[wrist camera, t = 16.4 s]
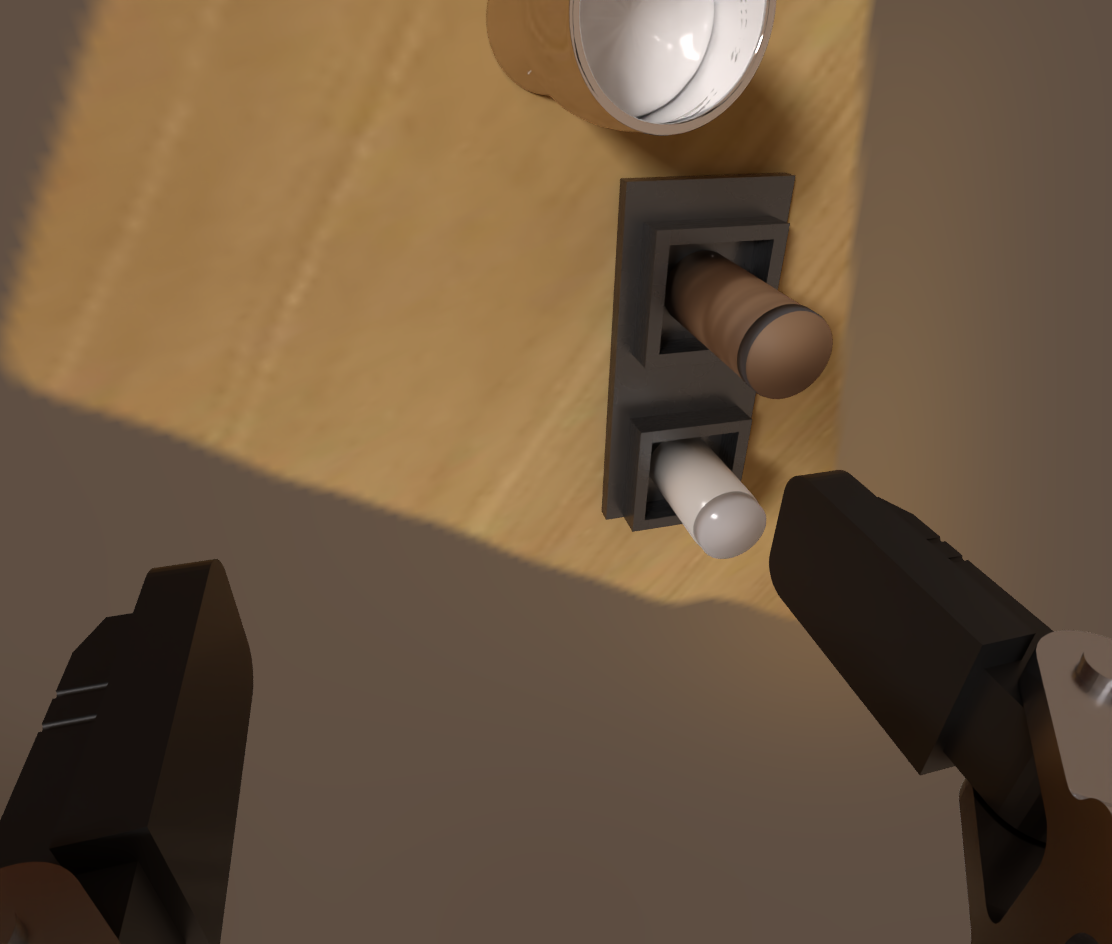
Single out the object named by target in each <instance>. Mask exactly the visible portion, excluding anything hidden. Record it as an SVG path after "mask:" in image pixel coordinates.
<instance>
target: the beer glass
mask: <svg viewBox="0 0 1112 944" xmlns="http://www.w3.org/2000/svg"><path fill="white" fill-rule="evenodd" d="M775 9H776V0H488V1H487V9H486V25H487V33H488V38H489V42H490V46H491V49H492V51H493V54H494V56H495V58H496V60H497V62H498V64H499V65H500V67H501V68H502V70H503V71H504V72H505V73H506V75H507V76H508V77H509V78H510V79H511V80H512V81H513V82H515V83H516V84H517V85H519V86H520V87H522V88H524V89H525V90H527V91H530V92H532V93H536V94H540V95H547V96H551V97H552V98H553V99H554V100H555V101H556V102H557V103H558V104H559V105H560V106H561V107H563V108H564V109H565V110H567V111H568V112H570V113H571V114H573V115H575V116H577V117H579V118H581V119H583V120H585V121H587V122H589V123H592V124H594V125H597V126H601V127H605V128H609V129H613V130H618V131H625V132H636V133H645V134H650V135H660V136H666V135H676V134H681V133H685V132H689V131H691V130H694V129H697V128H699V127H701V126H703V125H705V124H707V123H709V122H710V121H712V120H713V119H715V118H716V117H718V116H719V115H720V114H722V113H723V112H724V111H725V110H726V109H727V108H729V107H730V106H731V105H732V104H733V103H734V102H735V100H736V99H737V98H738V97H739V96H740V95H741V93H742V92H743V91H744V90H745V88H746V87H747V85H748V84H749V82H750V81H751V79H752V78H753V76H754V74H755V72H756V71H757V69H758V67H759V65H760V63H761V60H762V58H763V56H764V53H765V51H766V48H767V45H768V42H769V39H770V35H771V31H772V27H773V22H774V16H775Z"/></svg>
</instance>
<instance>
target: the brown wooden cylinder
mask: <svg viewBox="0 0 1112 944" xmlns="http://www.w3.org/2000/svg"><path fill="white" fill-rule="evenodd" d="M664 302H665V306H666V308H667V310H668V312H669V313H670V315H671V316H672V317H673V318H674V319H675V320H677V321H678V322H679V323H680V324H681V325H682V326H683V327H684V328H686V329H687V330H688V331H689V332H690V333H691V334H692V335H693V336H695V337H696V338H697V339H698V340H699V341H700V342H701V343H702V344H704V345H705V346H706V347H707V348H708V349H709V350H710V351H711V352H712V353H714V354H715V355H716V356H717V357H718V358H719V359H720V360H721V361H723V362H724V363H725V364H726V365H727V366H728V367H729V368H730V369H732V370H733V371H734V372H735V373H736V374H737V375H738V376H739V377H741V378H742V380H743V381H744V382H745V383H746V384H747V385H748V386H749V387H750V388H751V389H752V390H754V391H755V392H756V393H757V394H759V395H761V396H764V397H766V398H770V399H783V398H787V397H791V396H793V395H796V394H798V393H800V392H801V391H803V390H805V389H806V388H807V387H809V386H810V385H811V384H812V383H813V382H814V381H815V380H816V379H817V378H818V377H819V376H820V374H821V373H822V372H823V370H824V368H825V367H826V365H827V363H828V361H829V358H830V355H831V351H832V345H833V339H832V333H831V329H830V327H829V325H828V324H827V322H826V321H825V320H824V319H823V318H822V317H821V316H820V315H819V314H817V313H815V312H814V311H812V310H811V309H809V308H807V307H805V306H803V305H800V304H799V303H797V302H796V301H794V300H792V299H791V298H789V297H788V296H786V295H784V294H783V293H781V292H780V291H778V290H776V289H775V288H773V287H772V286H770V285H768V284H767V283H765V282H764V281H762V280H761V279H759V278H757V277H756V276H754V275H753V274H751V273H749V272H748V271H746V270H745V269H743V268H741V267H740V266H738V265H737V264H735V263H733V262H732V261H730V260H729V259H727V258H725V257H724V256H722V255H721V254H719V253H717V252H714V251H709V250H702V251H697V252H694V253H691V254H689V255H687V256H686V257H684V258H683V259H682V260H680V261H679V262H678V263H677V264H676V265H675V267H674V268H673V269H672V271H671V272H670V274H669V276H668V278H667V280H666V290H665V300H664Z"/></svg>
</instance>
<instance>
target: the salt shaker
mask: <svg viewBox="0 0 1112 944" xmlns="http://www.w3.org/2000/svg"><path fill="white" fill-rule="evenodd" d="M649 475H650V477H651V479H652V481H653V482H654V484H655V485H656V486H657V488H658V489H659V491H660V492H661V494H662V495H663V496H664V498H665V499H666V501H667V502H668V503H669V505H670V506H671V508H672V509H673V511H674V512H675V513H676V515H677V516H678V518H679V519H680V520H681V522H682V523H683V525H684V526H685V528H686V529H687V530H688V532H689V533H690V535H691V536H692V537H693V539H694V540H695V542H696V543H697V544H698V545H699V546H701V547H702V549H703V550H704V551H705V553H706V554H708V555H709V556H711V557H714V558H718V559H727V558H732V557H735V556H738V555H740V554H742V553H744V552H746V551H747V550H749V549H750V548H751V547H752V546H753V545H754V544H755V543H756V542H757V541H758V540H759V538H760V537H761V535H762V534H763V532H764V529H765V526H766V514H765V512H764V510H763V508H762V507H761V506H760V505H759V504H758V501H757V500H756V498H755V497H754V496H753V495H752V494H751V492H750V491H749V490H748V489H747V488H746V487H745V486H744V485H743V484H742V482H741V481H740V480H739V479H738V478H737V477H736V476H735V475H734V474H733V472H732V471H731V470H730V469H729V468H728V467H727V466H726V465H725V464H724V462H723V461H722V460H721V459H720V458H719V457H718V456H717V455H716V454H715V453H714V451H713V450H712V449H711V448H710V447H709V446H708V445H707V444H706V443H705V441H704V440H703V439H702V438H700V437H694V438H686V439H679V440H671V441H663V442H662V443H661V444H660V445H659V446H658V447H657V448H656V449H655V450H654V452H653V454H652V455H651V460H650V470H649Z"/></svg>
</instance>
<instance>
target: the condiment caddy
mask: <svg viewBox="0 0 1112 944" xmlns="http://www.w3.org/2000/svg"><path fill="white" fill-rule="evenodd" d="M794 181H795V175H792V174H789V173H762V174H734V175H706V176H677V177H649V178H621V179H620V196H619V213H618V231H617V249H616V266H615V284H614V302H613V320H612V337H611V355H610V373H609V391H608V408H607V426H606V444H605V461H604V479H603V497H602V513H603V515H604V517H605V518H606V520H607V519H614V518H620V517H624V518H625V520H626V521H627V523H628V525H629V527H630V528H631V530H632V532H634V531H640V530H646V529H653V528H659V527H666V526H672V525H678V524H683V523H682V522H681V520H680V519H679V518H678V516H677V515H676V513H675V512H674V511H673V509H672V508H671V506H670V505H669V503H668V502H667V501H666V499H665V498H664V496H663V495H662V494H661V492H660V491H659V489H658V488H657V486H656V485H655V484H654V482H653V481H652V479H651V477H650V475H649V470H650V460H651V455H652V454H653V452H654V450H655V449H656V448H657V447H658V446H659V445H660V444H661V443H662V442H663V441H671V440H679V439H686V438H694V437H700V438H702V439H703V440H704V441H705V443H706V444H707V445H708V446H709V447H710V448H711V449H712V450H713V451H714V453H715V454H716V455H717V456H718V457H719V458H720V459H721V460H722V461H723V462H724V464H725V465H726V466H727V467H728V468H729V469H730V470H731V471H732V472H733V474H734V475H735V476H736V477H737V478H738V479H739V480H740V481H741V479H742V473H743V468H744V462H745V457H746V451H747V446H748V440H749V435H750V429H751V424H752V419H751V417H752V411H753V406H754V400H755V395H756V392H755V391H754V390H752V389H751V388H750V387H749V386H748V385H747V384H746V383H745V382H744V381H743V380H742V378H741V377H739V376H738V375H737V374H736V373H735V372H734V371H733V370H732V369H730V368H729V367H728V366H727V365H726V364H725V363H724V362H723V361H721V360H720V359H719V358H718V357H717V356H716V355H715V354H714V353H712V352H711V351H710V350H709V349H708V348H707V347H706V346H705V345H704V344H702V343H701V342H700V341H699V340H698V339H697V338H696V337H695V336H693V335H692V334H691V333H690V332H689V331H688V330H687V329H686V328H684V327H683V326H682V325H681V324H680V323H679V322H678V321H677V320H675V319H674V318H673V317H672V316H671V315H670V313H669V312H668V310H667V308H666V306H665V302H664V300H665V290H666V280H667V278H668V276H669V274H670V272H671V271H672V269H673V268H674V267H675V265H676V264H677V263H678V262H679V261H680V260H682V259H683V258H684V257H686V256H687V255H689V254H691V253H694V252H697V251H702V250H709V251H714V252H717V253H719V254H721V255H722V256H724V257H725V258H727V259H729V260H730V261H732V262H733V263H735V264H737V265H738V266H740V267H741V268H743V269H745V270H746V271H748V272H749V273H751V274H753V275H754V276H756V277H757V278H759V279H761V280H762V281H764V282H765V283H767V284H768V285H770V286H772V287H773V288H775V289H776V290H778V285H779V280H780V274H781V269H782V264H783V258H784V253H785V247H786V242H787V236H788V231H789V226H790V223H788V222H787V219H788V214H789V208H790V203H791V197H792V192H793V187H794Z"/></svg>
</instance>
